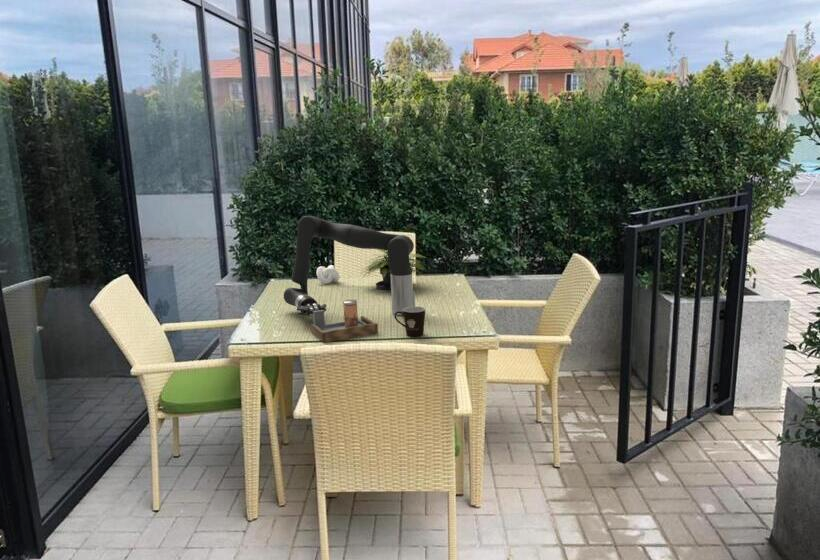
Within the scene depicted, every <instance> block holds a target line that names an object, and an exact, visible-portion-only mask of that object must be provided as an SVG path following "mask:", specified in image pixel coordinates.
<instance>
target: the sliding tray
mask: <svg viewBox="0 0 820 560" xmlns="http://www.w3.org/2000/svg"><path fill="white" fill-rule="evenodd" d="M312 317H313V324H315V325H316V326H318V327H319V328H320V329H321V330H323V331H328V330H335V329H341V328H345V320H344V321H343V320H342V321H338V322H330V323H326V321H325V312H324V310H318V311H313V315H312ZM325 323H326V324H325ZM360 325H366V323H364V322H362V321H361V318H358V326H360Z"/></svg>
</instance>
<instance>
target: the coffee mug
mask: <svg viewBox="0 0 820 560" xmlns="http://www.w3.org/2000/svg"><path fill="white" fill-rule="evenodd" d="M397 313H401V314H402V315H401V316H402V317H403V321H404V323H403V322H401V321H400V320H398V318H397V315H396V314H397ZM393 316H394V319H395V321H397V323H399V324H400V325H401V326H403V327H404V328H405V333H406V336H407V337H408V338H420V337H423V336H422V335H424V329H425V318H426V307H424V306H415V307H407V308H404V309H403V312H400V311H399V312H396V313H395V315H393Z"/></svg>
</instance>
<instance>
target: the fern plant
mask: <svg viewBox="0 0 820 560" xmlns="http://www.w3.org/2000/svg"><path fill="white" fill-rule="evenodd" d="M376 250H377V251H379V252H382V253H383V254H382V255H379V254H377V253H376V254H373V256H377V258H375V259H374V260H372V259H371V260H369V261H366V262H365V264H366V266H365V267H362V270H363V271H361V274H363V273H364V275H363V277H362V278H364V277H366V275H367V276H369V275H371V274H374V273H375V271H377V270H379V273H380V275H381V276H382V280H380V281H377V282H376V283H375V286H376V290H378V291H382V290H383V291H384V292H391V273H390V268H389V263H388V251H386V250H382V249H376ZM415 258H416V259H415ZM417 258H424V259H425V258H426V259H427V257H426V256H423V255H421V254H418V253H410V254H409V263H410V266H411V267H412V274H413V273H414V274H415V275H416V276H418V274H420V275H422V276H424V275H423V273H421V272H420V271H419V270H422V271H423V270H424V269H425V270H424V271H425V272H428V271H426V268H425V266H424V265H423V264H422V263H421V262H420V260H419V259H417ZM368 264H369V265H368ZM418 269H419V270H418ZM416 272H417V273H418V274H417V273H416ZM362 278H361V279H362Z"/></svg>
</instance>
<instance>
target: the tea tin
mask: <svg viewBox="0 0 820 560" xmlns="http://www.w3.org/2000/svg"><path fill="white" fill-rule="evenodd" d="M342 305H343V316H344V317H343V319H344V321H345V328H347V327H353V326H358V319H359V317H358V315H359V314H358V301H357V299H346V300H343V301H342Z"/></svg>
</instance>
